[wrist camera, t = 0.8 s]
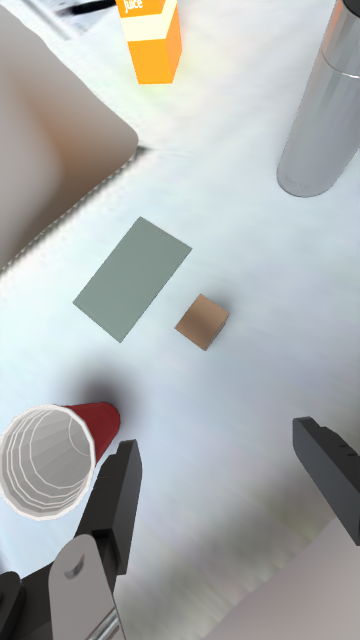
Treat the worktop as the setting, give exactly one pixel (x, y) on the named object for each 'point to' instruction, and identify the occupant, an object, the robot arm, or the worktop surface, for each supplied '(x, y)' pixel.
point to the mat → (131, 278)
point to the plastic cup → (53, 456)
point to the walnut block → (202, 322)
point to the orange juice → (152, 38)
